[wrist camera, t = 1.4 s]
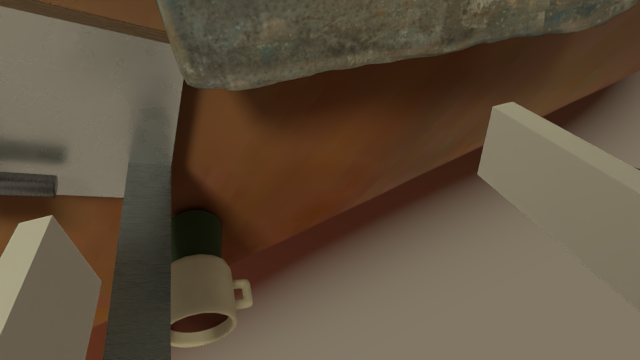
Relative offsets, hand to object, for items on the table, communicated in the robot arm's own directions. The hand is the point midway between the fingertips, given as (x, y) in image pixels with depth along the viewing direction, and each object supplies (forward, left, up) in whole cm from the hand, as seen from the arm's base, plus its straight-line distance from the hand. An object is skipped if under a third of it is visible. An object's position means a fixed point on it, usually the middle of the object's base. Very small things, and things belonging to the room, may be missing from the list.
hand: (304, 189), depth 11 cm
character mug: (+27, +1, -22) cm, 35 cm away
